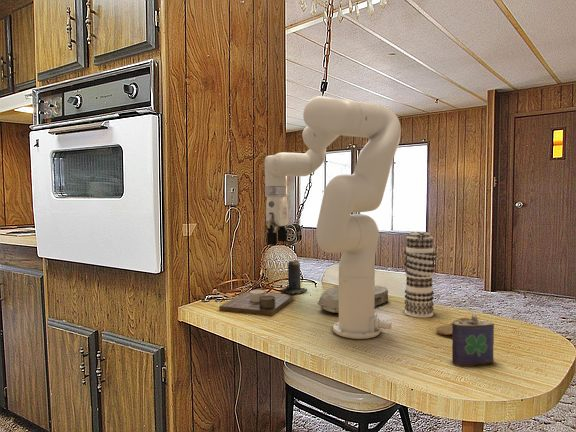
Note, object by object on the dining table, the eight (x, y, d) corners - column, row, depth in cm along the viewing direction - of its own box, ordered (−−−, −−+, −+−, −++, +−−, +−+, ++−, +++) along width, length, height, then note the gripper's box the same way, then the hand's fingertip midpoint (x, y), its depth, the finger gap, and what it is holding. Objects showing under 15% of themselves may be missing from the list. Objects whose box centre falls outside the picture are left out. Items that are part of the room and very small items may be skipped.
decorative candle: (419, 319, 120) (420, 234, 119) (396, 311, 129) (397, 231, 127) (441, 315, 125) (442, 232, 123) (418, 307, 133) (419, 230, 131)
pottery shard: (480, 347, 102) (484, 327, 111) (479, 332, 101) (483, 312, 109) (435, 342, 108) (442, 322, 116) (433, 327, 107) (441, 308, 115)
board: (293, 299, 144) (293, 295, 144) (271, 316, 125) (271, 311, 125) (246, 295, 150) (246, 291, 150) (219, 310, 132) (219, 305, 132)
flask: (489, 359, 92) (490, 312, 91) (497, 365, 89) (498, 316, 89) (449, 361, 91) (450, 314, 91) (456, 367, 88) (456, 318, 88)
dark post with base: (294, 296, 149) (293, 263, 148) (279, 292, 154) (278, 260, 153) (310, 291, 155) (310, 259, 154) (295, 288, 160) (295, 257, 160)
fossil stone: (339, 319, 122) (339, 301, 121) (305, 308, 133) (305, 292, 132) (395, 301, 140) (395, 286, 140) (361, 293, 151) (361, 279, 151)
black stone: (277, 305, 132) (277, 296, 131) (271, 309, 127) (271, 300, 127) (263, 303, 133) (263, 294, 133) (256, 308, 129) (256, 298, 128)
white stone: (267, 298, 139) (267, 290, 139) (261, 302, 135) (261, 293, 134) (254, 297, 141) (254, 289, 141) (247, 301, 136) (247, 292, 136)
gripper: (277, 192, 130) (279, 246, 130) (294, 192, 146) (295, 240, 147) (255, 192, 132) (257, 245, 133) (275, 192, 148) (276, 239, 149)
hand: (277, 242), depth 140 cm, fingers open, 9 cm apart
